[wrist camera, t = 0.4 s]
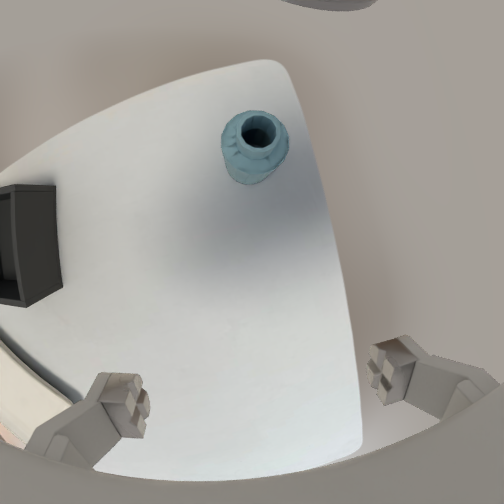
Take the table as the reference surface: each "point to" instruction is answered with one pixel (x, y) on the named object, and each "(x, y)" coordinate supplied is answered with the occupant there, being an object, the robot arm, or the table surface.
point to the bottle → (253, 146)
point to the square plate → (25, 397)
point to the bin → (28, 244)
